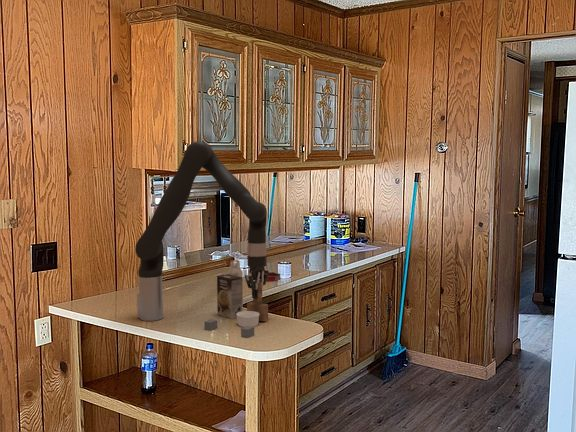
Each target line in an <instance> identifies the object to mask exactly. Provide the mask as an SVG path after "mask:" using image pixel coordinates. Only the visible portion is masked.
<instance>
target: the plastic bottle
mask: <svg viewBox="0 0 576 432" xmlns="http://www.w3.org/2000/svg"><path fill="white" fill-rule="evenodd" d="M229 265H230V267H229V269H228V270H227V273H226V274H231V275H235V276H239V277H243V270H242V269H241V267H240V260H236V259H235V260H230V264H229ZM243 305H244V297H242V306H243Z"/></svg>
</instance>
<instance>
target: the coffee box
mask: <svg viewBox="0 0 576 432" xmlns="http://www.w3.org/2000/svg"><path fill="white" fill-rule="evenodd" d="M243 278H244V277H243V276H242V277H239V276H235V275H231V274H227V273H226V274H220V275H219V274H218V275H217V276H216V289H217V292H216V293H217V295H216V296H217V299H216V301H217V305H216V306H217V307H216V308H217V315H219V316H221V317H225V318H229V319H235V318H236V319H237V315H236V314H237V313H238V312H242V311H243V305H242V297H243V294H244V293H243V289H244V286H243V285H244V284H243ZM243 298H244V297H243Z"/></svg>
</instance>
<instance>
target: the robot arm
mask: <svg viewBox="0 0 576 432" xmlns="http://www.w3.org/2000/svg"><path fill="white" fill-rule="evenodd" d="M201 169H204V170H206V172H208V173H209V174H210V175H211V176H212V177H213V178H214V180H215V181H216V182H217V184H218V185H219V187H220V188H221V190H222V191H223V192H225V194H226V195H227V197H229V198H230V199H231V200H232V201H233V202H234V203H235V204H236V205H237V207H238V208H239V209H240V210H241V212H243V214H244V215H245V216H246V218H248V221H249V227H248V231H247V248H246V249H247V250H246V251H247V252H246V255H247V257H246V258H247V261H246V262H247V263H246V264H247V266H248V267H249V272H248V274H245V275H244V280H245V282H246V285H247V287H248V289H251V298H252V299H253V298H254V299H257V298H258V289H257V288H258V283H259V281H261V282H262V289H263V287H264V286H266V284H267V282H266V281H267V277H268V273H269V271H270V270H268V269H267V270H266V267H267V265H268V264H267V262H268V261H267V259H268V258H267V233H266V232H267V231H266V230H267V229H266V227H267V218H268V217H267V215H268V213H267V212H268V211H267V208H266V205H265V204H264V203H262V202H261V201H260V202H259V201H257V200H256V199H255V198H254V197H253V196H252V195H251V192H250V191H249V189H248V188H247V187H246V186H244V184H243V183H242V182H241V181H240V180H239V179H238V178H237V177H236V176H235V175H234V174H233V173H232V172H231V171H230V170H229V169H228V168H227V167H226V166H225V165H224V164H223V162H222V161H221V159H219V157H218V156H217V153H215V152H214V150H213V149H212V147H211V146H210V145H209V144H208V143H207V142H205V141H197V140H196V141H193V142H191V143H190V144H189V145H188V146H187V147H186V149H185V152H184V154H183V157H182V160H181V162H180V164H179V167H178V169H177V171H176V173H175V174H174V176H173V178H171V181H170V182H169V184H168V186H167V187H166V189H165V191H164V193H163V195H162V196H161V198H160V200H159V202H158V205H157V206H156V208H155V211H154V212H153V215H152V217H151V220H150V221H149V223H148V225H147V227H146V228H145V230H144V231H143V233H142V234H141V235H140V237H139V239H138V240H137V242H136V244H135V250H134V251H135V254H136V256H137V257H138V258H139V260H140V265H139V267H138V271H137V272H138V273H137V274H138V294H137V296H136V299H137V300H136V301H137V318H138V319H140V320H142V321H145V322H152V321H158V320H162V319H163V318H164V299H163V297H164V296H163V295H164V293H163V292H164V291H163V287H164V286H163V270H164V256H165V255H164V254H165V253H164V252H165V251H164V244H163V239H164V237H165V235H166V234H167V232H168V230H169V229H170V228H171V226H173V224H174V223H175V221H176V220H177V219H178V218H179V216H180V215H181V213H182V211H183V209H184V208H185V206H186V205H187V202H188V200H189V198H190V195H191V192H192V187H193V184H194V181H195V179H196V177H197V175H198V174H199V173H200V171H201ZM265 266H266V267H265ZM254 283H255V285H254Z"/></svg>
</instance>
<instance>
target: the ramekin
mask: <svg viewBox="0 0 576 432" xmlns="http://www.w3.org/2000/svg"><path fill="white" fill-rule="evenodd" d="M236 315H237V317H236V321H237V325H238V326H239V327H241V328H243V327H246V326H252V327H254V328H255V327H257V326H258V325H259V321H260V320H259V315H260V314H259V313H258V312H254V311H247V310H242V312H238V313H237V314H236Z"/></svg>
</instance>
